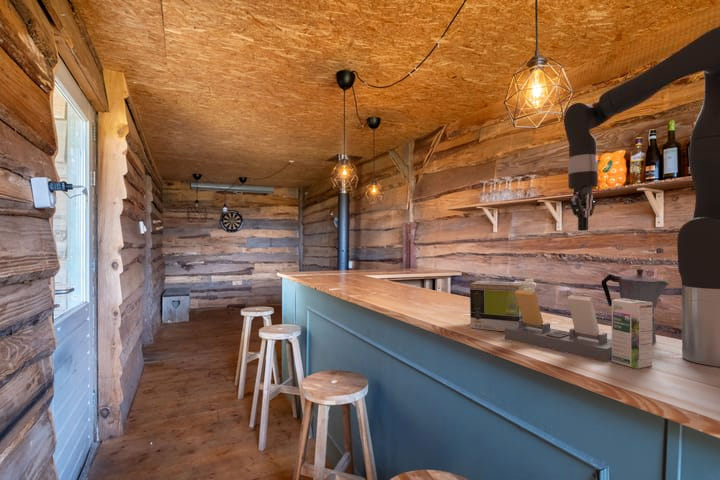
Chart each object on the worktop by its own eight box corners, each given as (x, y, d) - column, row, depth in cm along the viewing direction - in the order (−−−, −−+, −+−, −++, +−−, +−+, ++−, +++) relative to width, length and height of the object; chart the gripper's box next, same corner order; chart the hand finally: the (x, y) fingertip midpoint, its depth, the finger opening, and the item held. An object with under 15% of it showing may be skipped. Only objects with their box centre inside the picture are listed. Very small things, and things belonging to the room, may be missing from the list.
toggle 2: (601, 337, 93) (592, 297, 90) (598, 341, 92) (589, 300, 89) (578, 333, 97) (569, 295, 94) (576, 337, 96) (566, 298, 93)
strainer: (541, 324, 125) (540, 279, 125) (525, 326, 122) (525, 280, 122) (524, 320, 131) (523, 277, 131) (509, 322, 128) (508, 278, 128)
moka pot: (670, 348, 96) (670, 271, 96) (600, 339, 106) (599, 268, 106) (668, 340, 104) (668, 268, 104) (603, 332, 113) (602, 266, 113)
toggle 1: (545, 327, 104) (535, 291, 101) (542, 330, 103) (532, 294, 100) (527, 324, 108) (517, 289, 105) (524, 327, 107) (514, 292, 104)
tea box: (525, 327, 121) (524, 282, 121) (519, 334, 112) (519, 285, 112) (477, 322, 129) (477, 279, 129) (469, 328, 120) (469, 282, 120)
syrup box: (610, 361, 87) (609, 299, 87) (627, 358, 89) (627, 297, 89) (636, 369, 81) (635, 303, 81) (654, 366, 83) (653, 301, 83)
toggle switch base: (623, 353, 92) (623, 332, 92) (606, 361, 86) (606, 339, 86) (523, 333, 113) (523, 316, 113) (504, 338, 107) (504, 320, 107)
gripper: (586, 167, 104) (587, 230, 104) (606, 172, 112) (606, 230, 112) (558, 171, 110) (559, 230, 110) (579, 176, 118) (579, 231, 118)
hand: (583, 230), depth 111 cm, fingers closed
